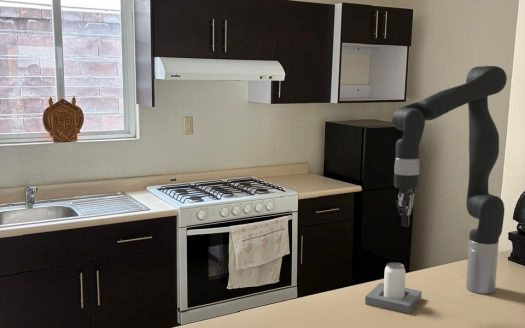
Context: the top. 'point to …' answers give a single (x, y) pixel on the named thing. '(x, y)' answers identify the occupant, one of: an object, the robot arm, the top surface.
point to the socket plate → (403, 305)
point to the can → (394, 281)
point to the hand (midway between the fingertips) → (405, 226)
